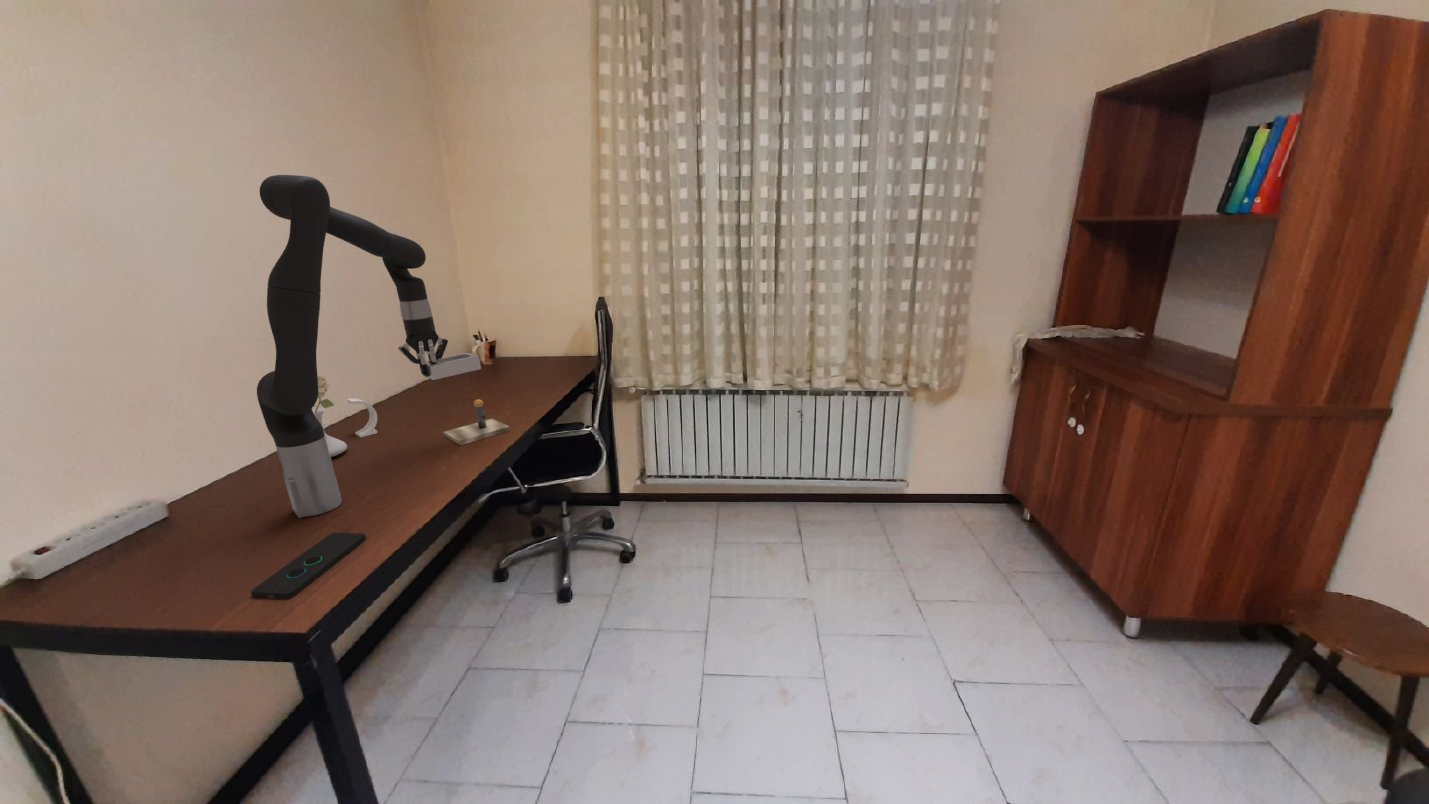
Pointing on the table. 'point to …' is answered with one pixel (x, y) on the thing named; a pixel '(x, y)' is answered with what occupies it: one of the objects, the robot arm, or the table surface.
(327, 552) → the smart home device
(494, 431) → the beige plate with rod
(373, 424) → the headphone stand
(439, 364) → the steel link
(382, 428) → the table surface
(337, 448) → the flower in vase
